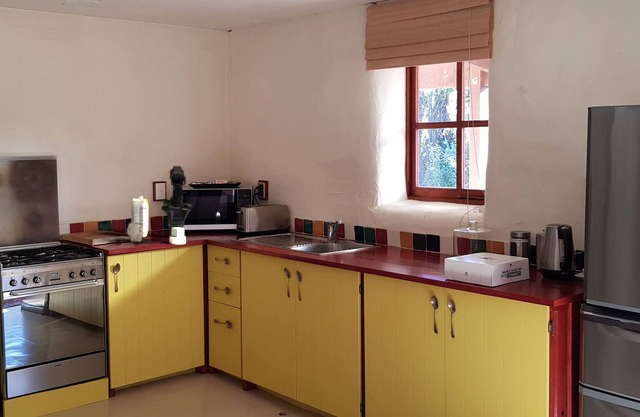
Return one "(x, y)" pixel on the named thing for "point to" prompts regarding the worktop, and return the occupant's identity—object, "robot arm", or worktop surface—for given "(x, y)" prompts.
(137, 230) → the mug
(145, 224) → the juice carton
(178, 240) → the cream tin
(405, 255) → the worktop surface
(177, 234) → the white cube
